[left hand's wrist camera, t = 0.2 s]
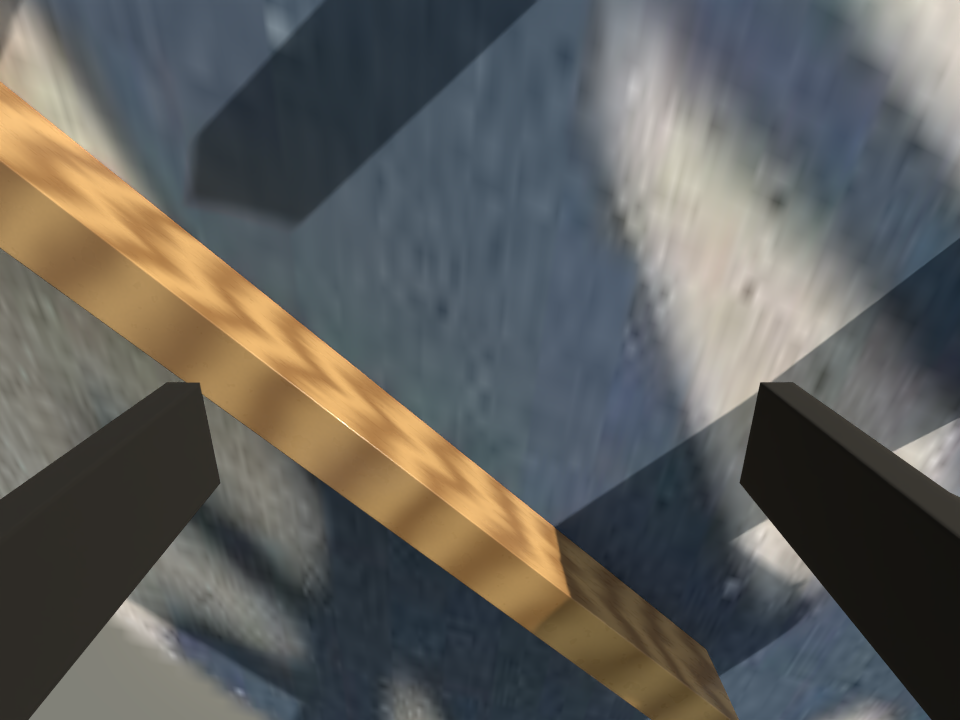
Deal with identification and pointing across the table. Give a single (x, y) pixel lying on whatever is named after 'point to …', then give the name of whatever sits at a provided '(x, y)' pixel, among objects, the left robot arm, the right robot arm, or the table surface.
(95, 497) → the left robot arm
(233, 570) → the table surface
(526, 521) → the beam
